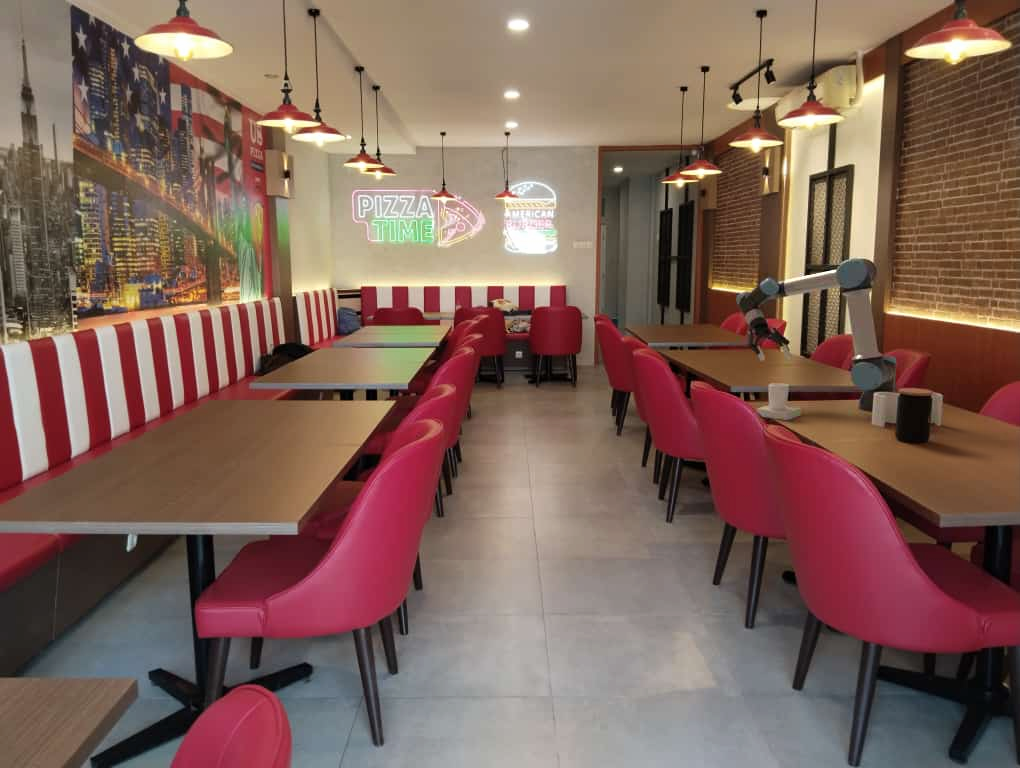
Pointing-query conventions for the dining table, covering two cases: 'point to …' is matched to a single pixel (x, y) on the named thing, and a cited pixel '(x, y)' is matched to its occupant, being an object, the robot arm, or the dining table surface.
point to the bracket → (888, 408)
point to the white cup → (778, 396)
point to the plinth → (779, 413)
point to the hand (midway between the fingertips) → (776, 358)
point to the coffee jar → (913, 415)
